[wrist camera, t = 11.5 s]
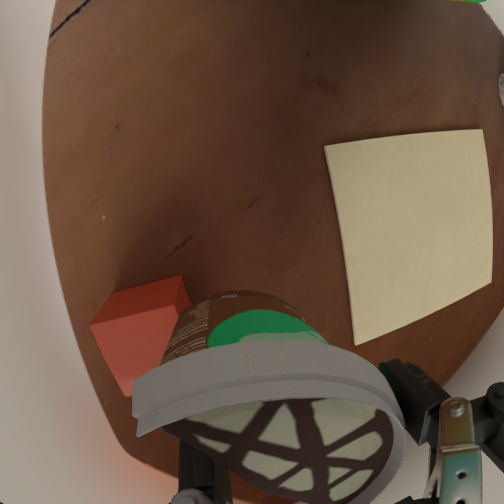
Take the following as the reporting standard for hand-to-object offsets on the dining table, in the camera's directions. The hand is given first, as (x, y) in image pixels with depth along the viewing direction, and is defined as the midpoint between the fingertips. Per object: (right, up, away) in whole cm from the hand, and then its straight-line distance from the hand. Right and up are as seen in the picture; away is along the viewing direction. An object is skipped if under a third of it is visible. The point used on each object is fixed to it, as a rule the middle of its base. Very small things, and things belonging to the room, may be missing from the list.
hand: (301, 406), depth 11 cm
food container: (-1, +2, +6) cm, 7 cm away
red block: (-10, +1, +12) cm, 16 cm away
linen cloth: (+15, +9, +14) cm, 23 cm away
